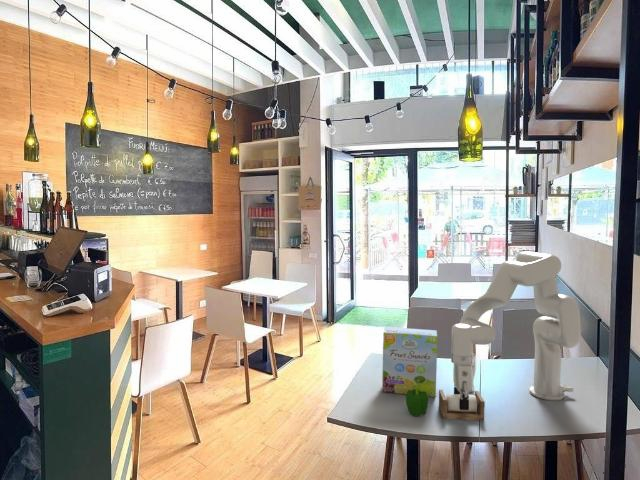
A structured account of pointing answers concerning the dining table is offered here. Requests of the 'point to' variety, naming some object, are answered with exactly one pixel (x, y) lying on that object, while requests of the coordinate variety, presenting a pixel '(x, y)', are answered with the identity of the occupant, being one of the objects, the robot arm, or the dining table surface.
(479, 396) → the cradle
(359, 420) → the dining table surface
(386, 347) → the snack box
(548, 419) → the dining table surface
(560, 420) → the dining table surface
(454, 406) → the roll
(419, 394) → the bell pepper
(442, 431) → the dining table surface
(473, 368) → the beer glass
